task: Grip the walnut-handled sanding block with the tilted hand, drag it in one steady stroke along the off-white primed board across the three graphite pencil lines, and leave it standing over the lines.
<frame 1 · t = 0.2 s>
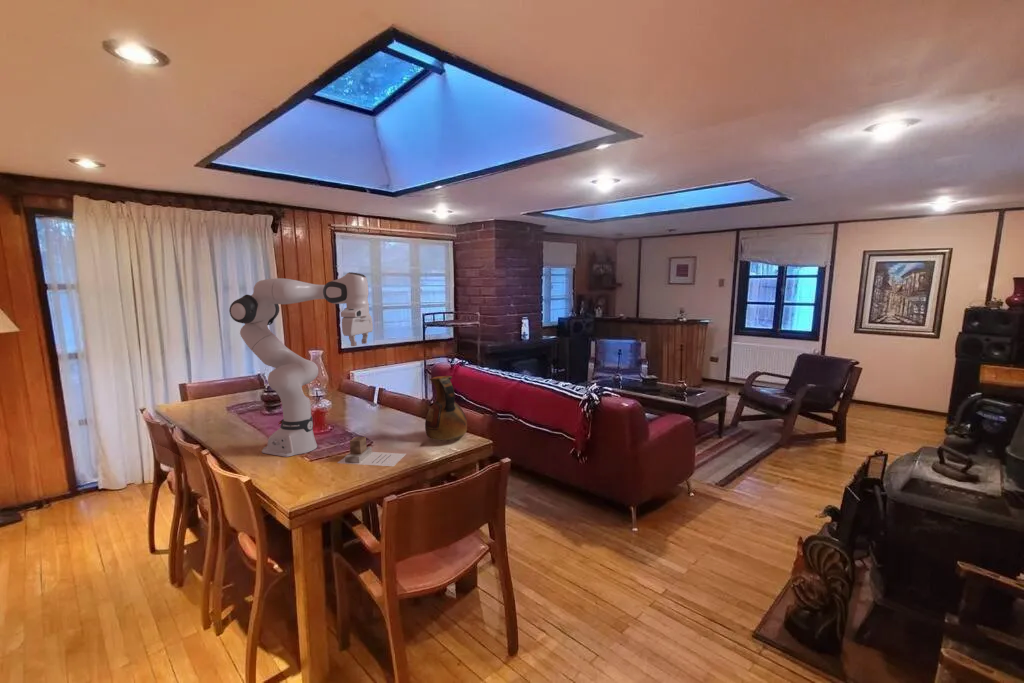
hand: (359, 344, 186), 47 cm above the table, tool pointing down, fingers open, 8 cm apart
primed board: (372, 461, 182), on the table
sanding block: (358, 457, 183), point 1 cm above the table, touching primed board
ceramic pitcher: (446, 438, 209), on the table
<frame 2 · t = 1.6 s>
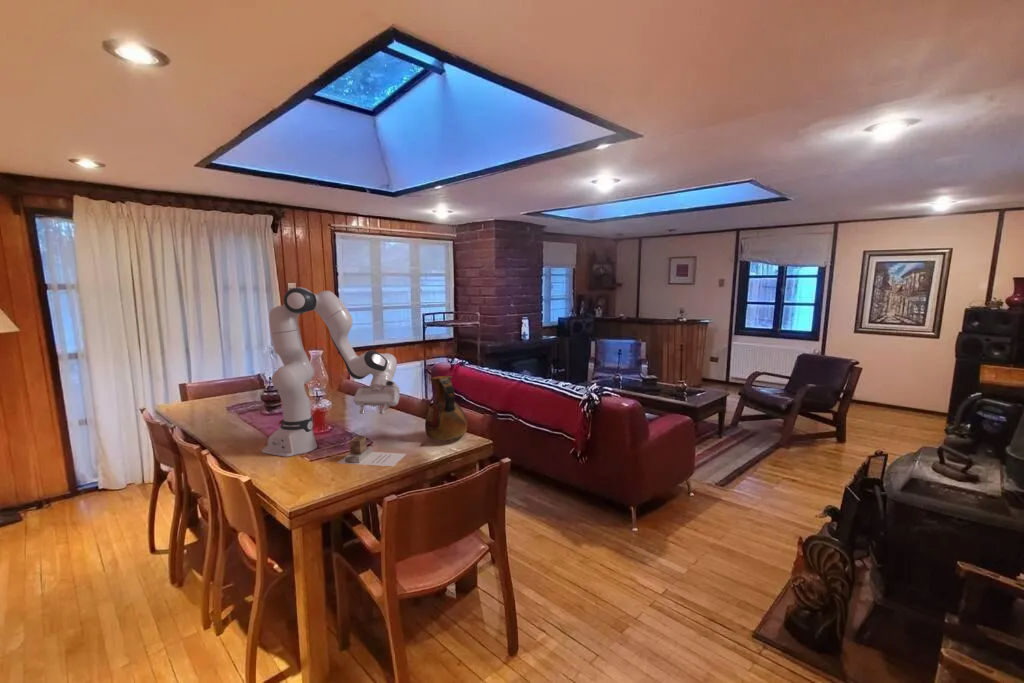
hand: (371, 413, 192), 17 cm above the table, tool tilted 45°, fingers open, 8 cm apart
nothing on the table moved.
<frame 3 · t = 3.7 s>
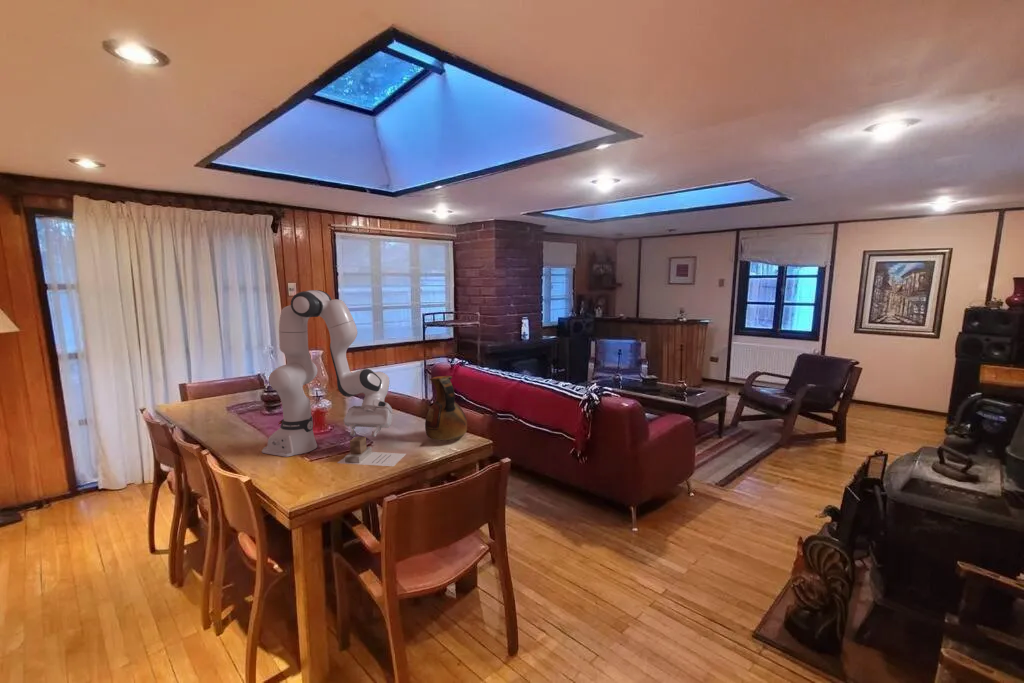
hand: (362, 435, 185), 10 cm above the table, tool tilted 45°, fingers open, 8 cm apart
nothing on the table moved.
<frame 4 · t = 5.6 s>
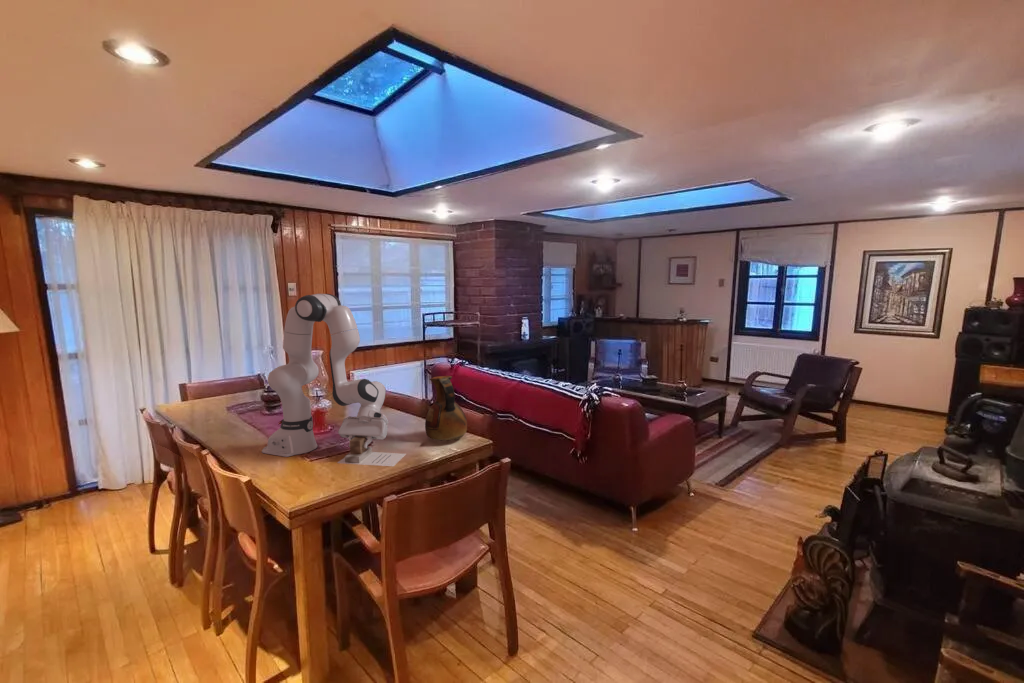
hand: (357, 447, 181), 6 cm above the table, tool tilted 45°, fingers closed on sanding block, 4 cm apart
sanding block: (358, 457, 183), point 1 cm above the table, touching gripper, primed board
everything else where it was.
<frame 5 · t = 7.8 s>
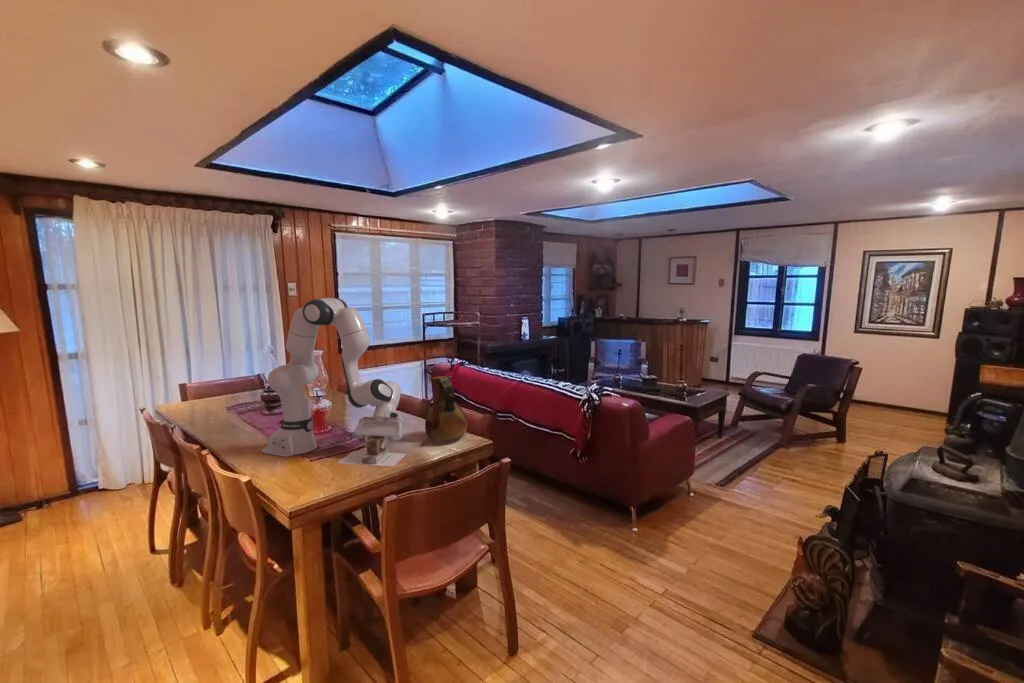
hand: (374, 447, 180), 6 cm above the table, tool tilted 45°, fingers closed on sanding block, 4 cm apart
sanding block: (375, 458, 181), point 2 cm above the table, touching gripper
everything else where it was.
when the fingers open (6 cm above the table, at t = 10.1 s): sanding block stays where it is, resting on primed board.
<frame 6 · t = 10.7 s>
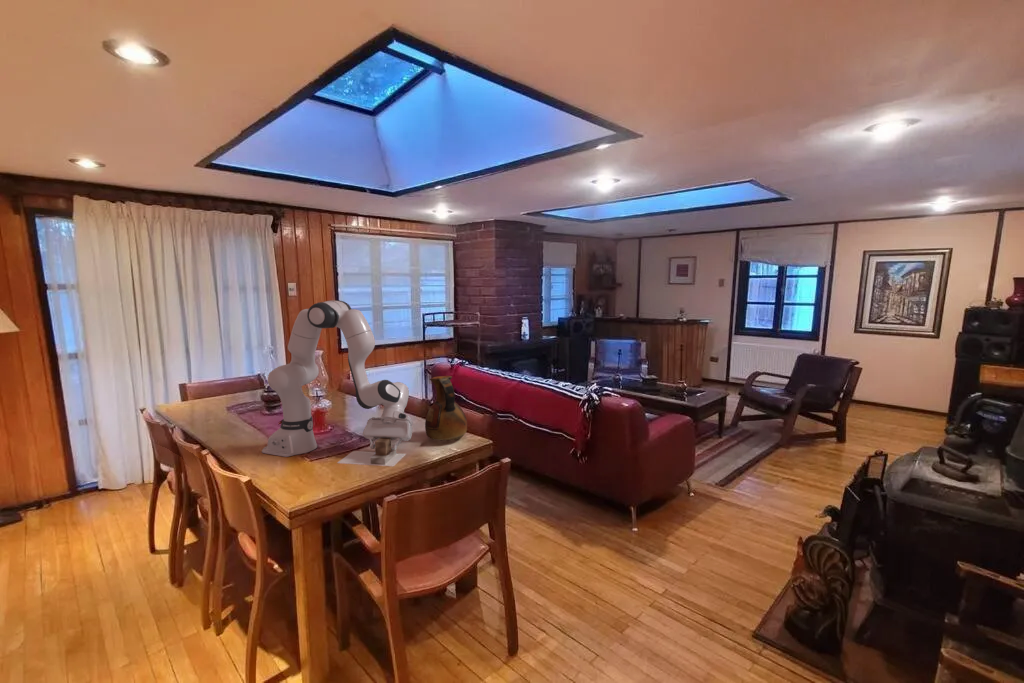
hand: (382, 448, 180), 6 cm above the table, tool tilted 45°, fingers open, 8 cm apart
sanding block: (383, 458, 181), point 2 cm above the table, touching primed board
everything else where it was.
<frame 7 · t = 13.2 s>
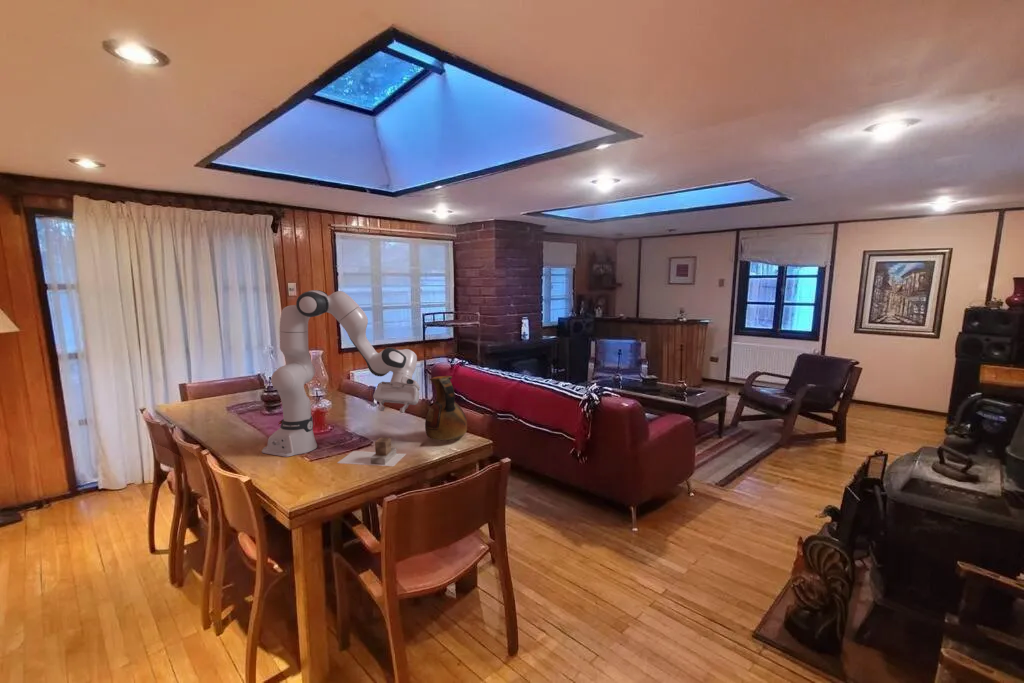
hand: (391, 411, 191), 18 cm above the table, tool tilted 40°, fingers open, 8 cm apart
nothing on the table moved.
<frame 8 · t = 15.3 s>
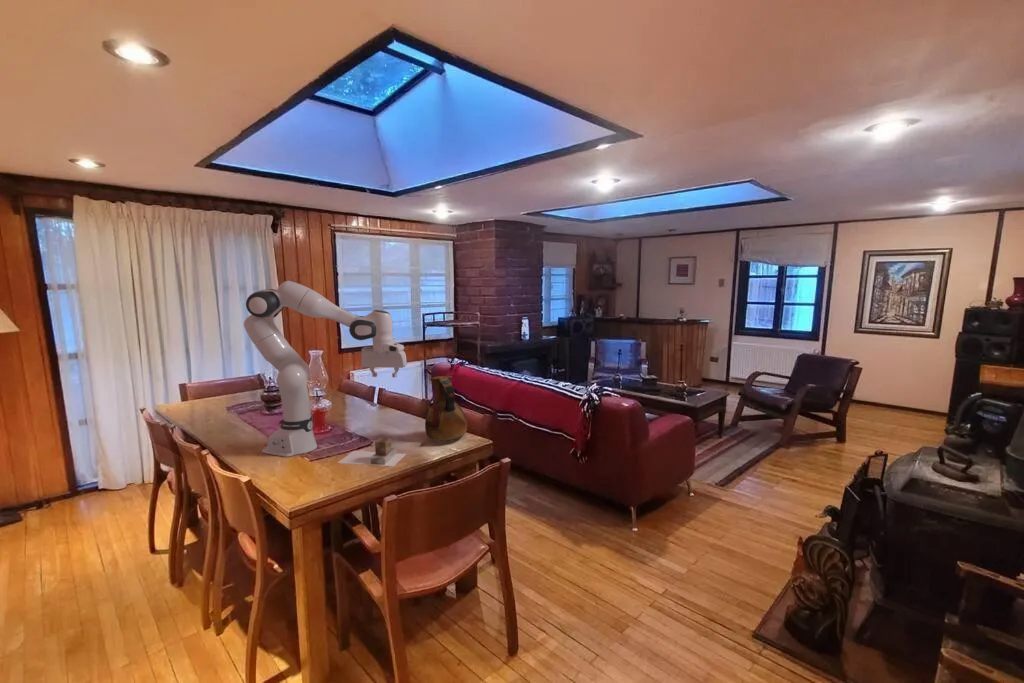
hand: (384, 376, 199), 31 cm above the table, tool pointing down, fingers open, 8 cm apart
nothing on the table moved.
at the end: sanding block 0.6 cm from the target spot on the primed board, point 1.5 cm above the primed board's base; sanding block tilted 0°; sanding block touching primed board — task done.
